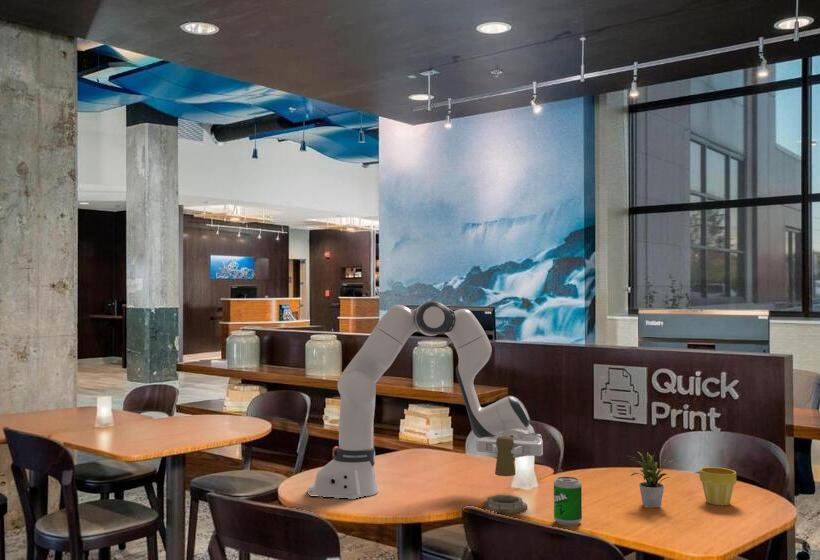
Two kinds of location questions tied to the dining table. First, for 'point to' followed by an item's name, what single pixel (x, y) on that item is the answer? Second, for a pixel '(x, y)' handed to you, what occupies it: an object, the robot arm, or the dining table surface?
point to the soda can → (567, 501)
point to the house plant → (651, 482)
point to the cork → (505, 457)
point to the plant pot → (717, 484)
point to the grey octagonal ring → (505, 504)
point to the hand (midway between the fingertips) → (504, 451)
